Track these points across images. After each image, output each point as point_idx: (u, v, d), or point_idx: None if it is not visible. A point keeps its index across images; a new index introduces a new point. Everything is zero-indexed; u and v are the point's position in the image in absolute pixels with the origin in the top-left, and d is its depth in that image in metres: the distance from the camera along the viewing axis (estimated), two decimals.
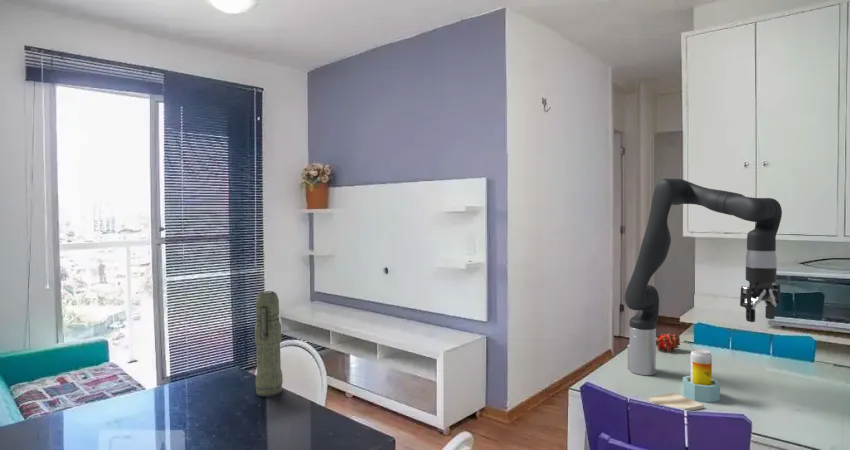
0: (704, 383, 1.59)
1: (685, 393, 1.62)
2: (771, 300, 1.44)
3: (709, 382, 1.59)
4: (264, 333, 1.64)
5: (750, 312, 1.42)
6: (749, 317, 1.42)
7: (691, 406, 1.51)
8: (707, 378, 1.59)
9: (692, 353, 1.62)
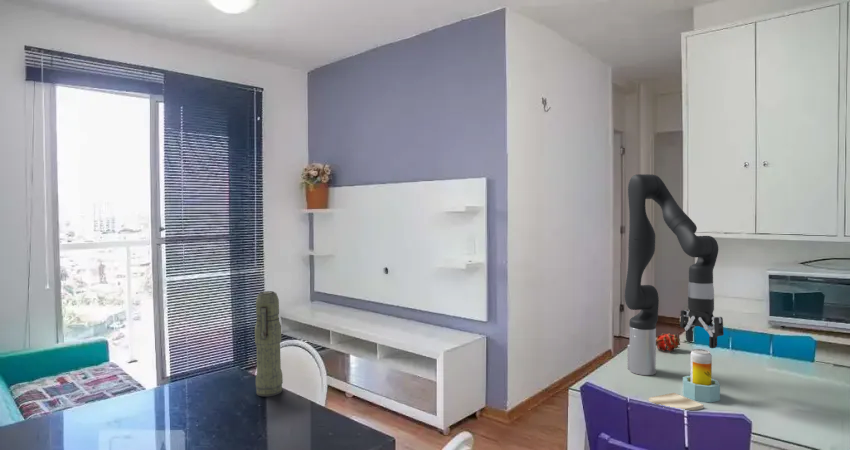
0: (704, 383, 1.59)
1: (685, 393, 1.62)
2: None
3: (709, 382, 1.59)
4: (264, 333, 1.64)
5: (716, 339, 1.57)
6: (716, 344, 1.57)
7: (691, 406, 1.51)
8: (707, 378, 1.59)
9: (692, 353, 1.62)
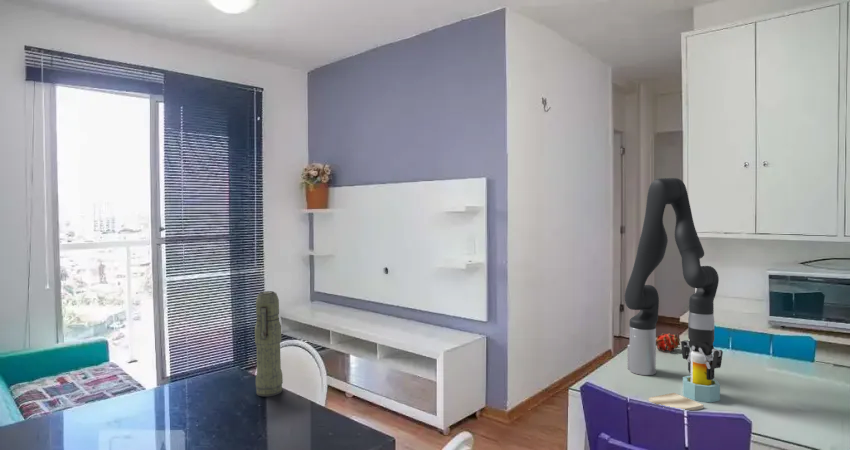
0: (704, 383, 1.59)
1: (685, 393, 1.62)
2: None
3: (709, 382, 1.59)
4: (264, 333, 1.64)
5: (713, 371, 1.58)
6: (713, 376, 1.58)
7: (691, 406, 1.51)
8: None
9: (692, 353, 1.62)
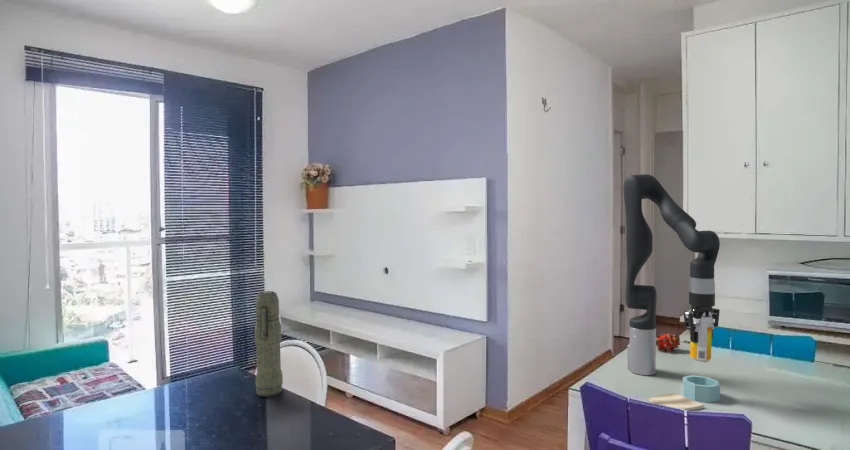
0: None
1: (685, 393, 1.62)
2: None
3: None
4: (264, 333, 1.64)
5: None
6: None
7: (691, 406, 1.51)
8: None
9: (705, 319, 1.59)
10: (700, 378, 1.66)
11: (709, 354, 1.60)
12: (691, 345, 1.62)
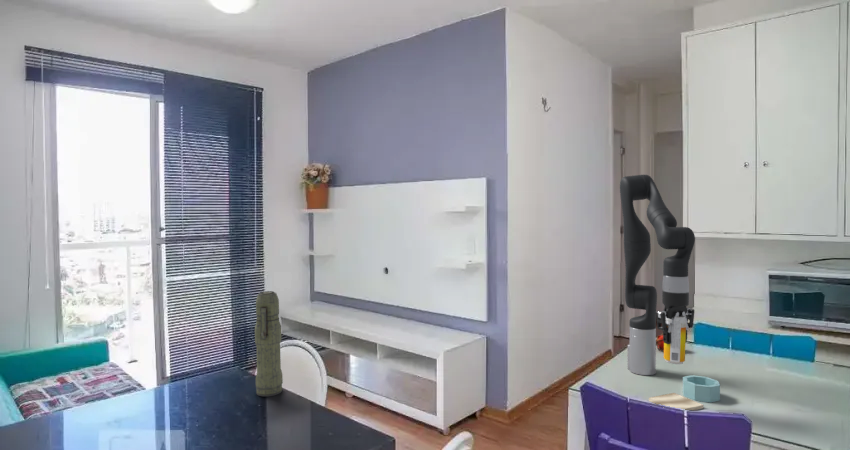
0: None
1: (685, 393, 1.62)
2: None
3: None
4: (264, 333, 1.64)
5: None
6: None
7: (691, 406, 1.51)
8: None
9: (679, 319, 1.52)
10: (700, 378, 1.66)
11: (683, 356, 1.53)
12: (664, 346, 1.55)
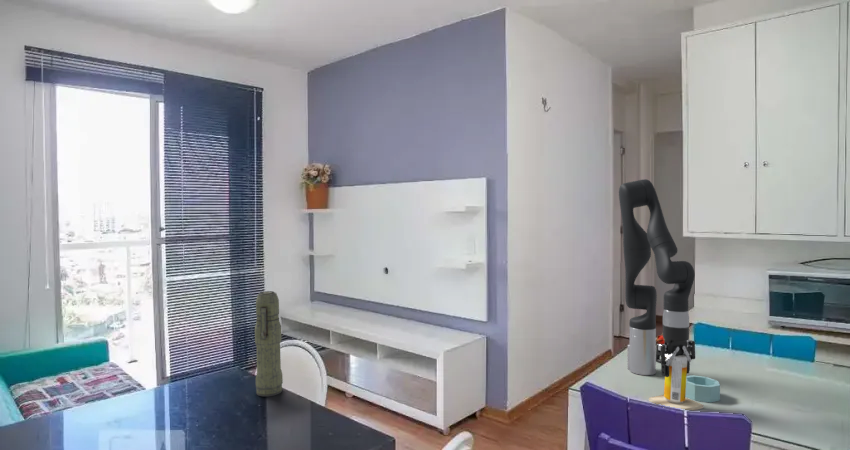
0: None
1: None
2: None
3: None
4: (264, 333, 1.64)
5: None
6: None
7: (691, 406, 1.51)
8: None
9: (680, 359, 1.52)
10: (700, 378, 1.66)
11: (683, 395, 1.53)
12: (665, 385, 1.56)
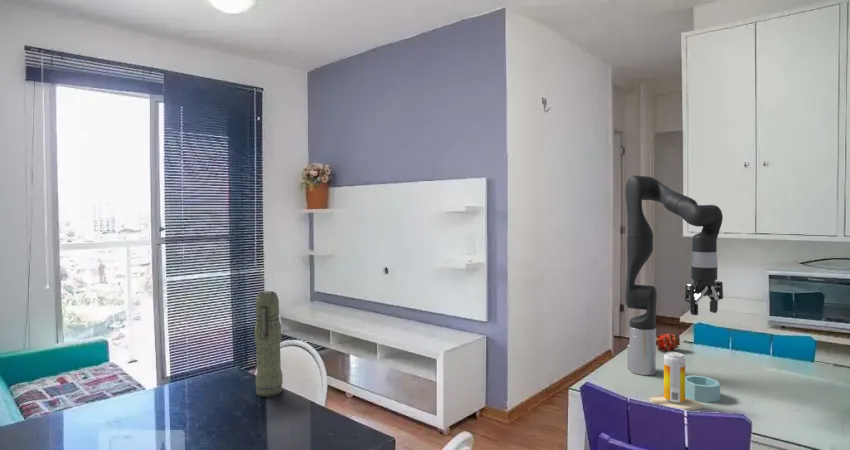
0: None
1: (685, 393, 1.62)
2: None
3: None
4: (264, 333, 1.64)
5: None
6: None
7: (691, 406, 1.51)
8: None
9: (678, 359, 1.52)
10: (700, 378, 1.66)
11: (683, 395, 1.53)
12: (664, 385, 1.56)
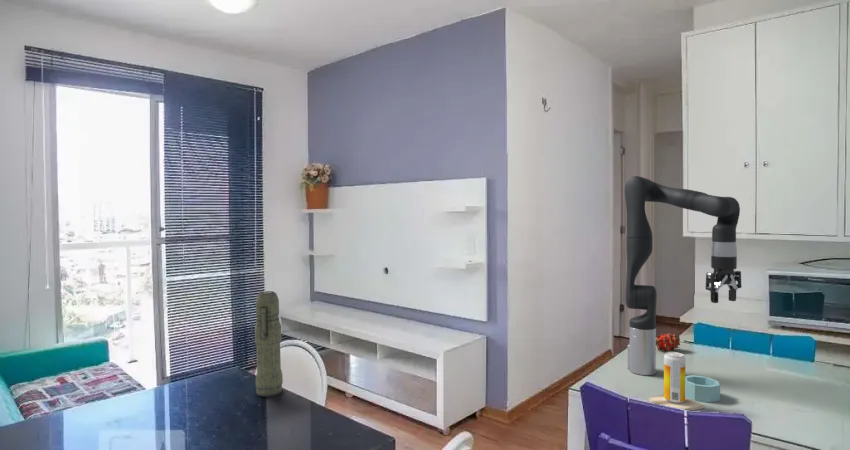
0: None
1: (685, 393, 1.62)
2: None
3: None
4: (264, 333, 1.64)
5: None
6: None
7: (691, 406, 1.51)
8: None
9: (678, 359, 1.52)
10: (700, 378, 1.66)
11: (683, 395, 1.53)
12: (664, 385, 1.56)
